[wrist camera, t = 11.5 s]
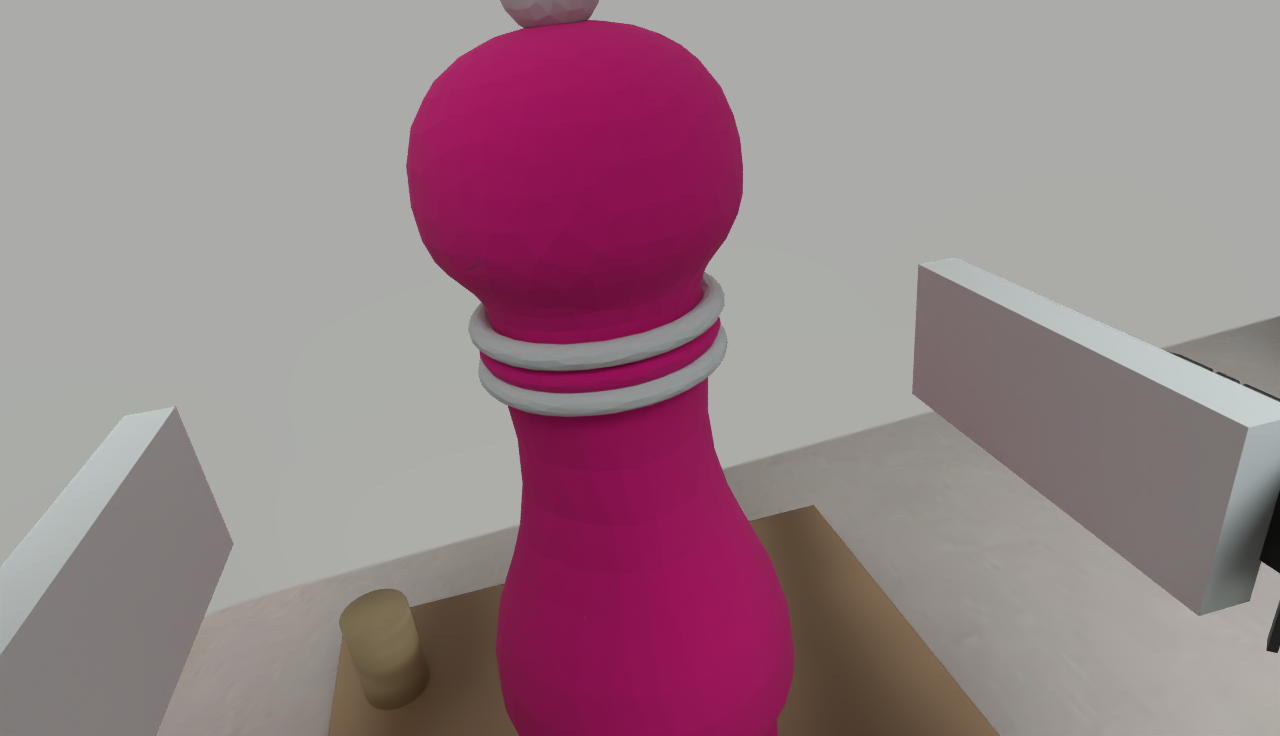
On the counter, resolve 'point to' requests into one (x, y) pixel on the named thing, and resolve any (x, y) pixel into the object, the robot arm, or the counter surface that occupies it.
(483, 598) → the seat board
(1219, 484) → the robot arm
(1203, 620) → the counter surface
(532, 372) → the pepper mill
